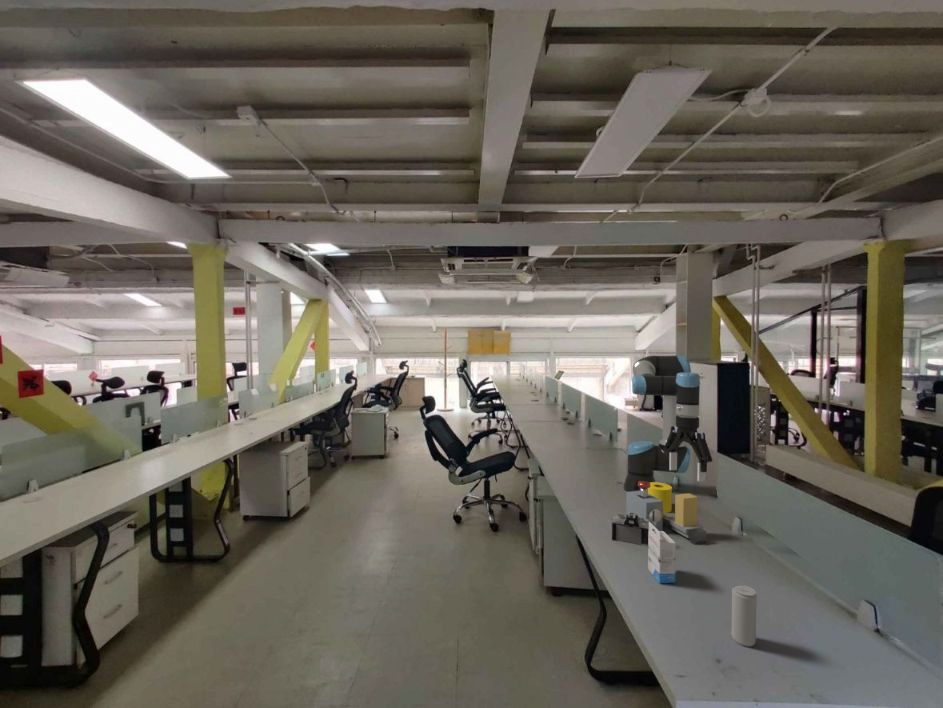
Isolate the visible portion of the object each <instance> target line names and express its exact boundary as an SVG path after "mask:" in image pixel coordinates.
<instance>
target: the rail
mask: <svg viewBox="0 0 943 708" xmlns="http://www.w3.org/2000/svg"><path fill="white" fill-rule="evenodd" d="M670 520H674V519H673V518H671V517H669V516H667V515H666V514H665V513H663V518H662V525H664V526H666V527H667V528H669V529H670V530H672V531H674V532H676V531H675V530H673V529H672V525H670ZM676 533H677V534H679V535H681V536H683V535H682V534H680V533H678V532H676ZM683 537H685V536H683ZM685 538H686V539H688V540H690V544H692V545H698V544H705V543H707V531H706V530H704V529H702V530H695V531H691V538H687V537H685Z"/></svg>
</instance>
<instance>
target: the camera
mask: <svg viewBox="0 0 943 708" xmlns="http://www.w3.org/2000/svg"><path fill="white" fill-rule="evenodd" d="M610 520H611V522H612V523H611V540H613V541H616V542H622V543H626V544H633V545H637V546H643V547H648V532H649V522H650V523H651V524H652V525H653V526H654V527H655V528H656V527H657V526H658V525H656V523H655V522H651V521H650V520H649V519H646V520H644V519H643V518H639V517H638V515H636V514H635V513H628V514H627V515H626V514H625V515H624V514H622V513H617V514H616V515H613V517H611V518H610ZM657 529H658V527H657ZM652 530H653V529H652ZM653 531H655V530H653Z"/></svg>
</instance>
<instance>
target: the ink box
mask: <svg viewBox="0 0 943 708" xmlns="http://www.w3.org/2000/svg"><path fill="white" fill-rule="evenodd" d="M652 529H653V530H655V531H653V530H652ZM676 550H677V543H676V542H675V541H674V539H672V538H671V537H670V536H669V535H668V534H667V533H666V532H665V531H663V530H662V531H658V530H657V529H656V528H655V527H654V526H653V525H652V524H651V523H650V522H649V532H648V548H647V554H648V555H647V569H648V571H649V572H650V573H651V574H652V575H653V577H654V578H655V579H656V581H657V582H658V583H660V584H676V568H677V567H676V565H677V564H676V556H677V555H676V554H677V553H676V552H677V551H676Z"/></svg>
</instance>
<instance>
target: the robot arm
mask: <svg viewBox="0 0 943 708" xmlns="http://www.w3.org/2000/svg"><path fill="white" fill-rule="evenodd" d="M632 374H633V376H632V380H631V383H632V384H631V390H632V391H631V392H632V394H633V395H638V396H639V395H640V396H662V438H661V439H660V440H659V441H658V445H655V443H654V442H653V441H648V440H638V441H633V442H630V443H629V444H628V446H627V453H626V454H627V474H626V477H625V480H624V483H623V490H624V491H625V492H632V491H640V487H639V486H638V481H646V482H656V479H655V476H654V475H655V473H654V472H665V473H675V474H677V473H678V474H684V473H687V471H688V469H689V466H690V463H691V462H690V460H691V449H690V448H689V447H687V444H689V445H690V446H691V447H692V450H693V451H694V453H695V455H696V457H697V459H698V461H697V470H696V471H697V473H696V474H697V475H696V477H697V481H696V482H706V478H707V477H706V473H707V471H708V463H711V462H713V458H712V455H711V452H710V449H709V446H708V442H707V441H706V434H705V432H698V429H699V428H700V417H699V416H700V394H701V393H700V387H701V378H700V374H699V373H697V372H692V369H691V364H690V360H689V358H688V357H686V356H684V355H683V356H682V355H648V356H644V357H642V358H640V359H638V360H637V361H636V362H635V363H634V364H633V366H632Z"/></svg>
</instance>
